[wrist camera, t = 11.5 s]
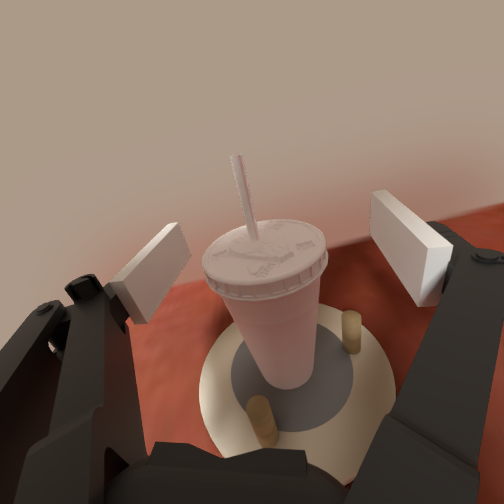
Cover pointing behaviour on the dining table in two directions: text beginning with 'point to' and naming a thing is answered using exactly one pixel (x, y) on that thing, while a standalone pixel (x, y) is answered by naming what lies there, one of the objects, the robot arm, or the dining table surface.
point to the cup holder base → (302, 397)
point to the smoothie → (270, 287)
